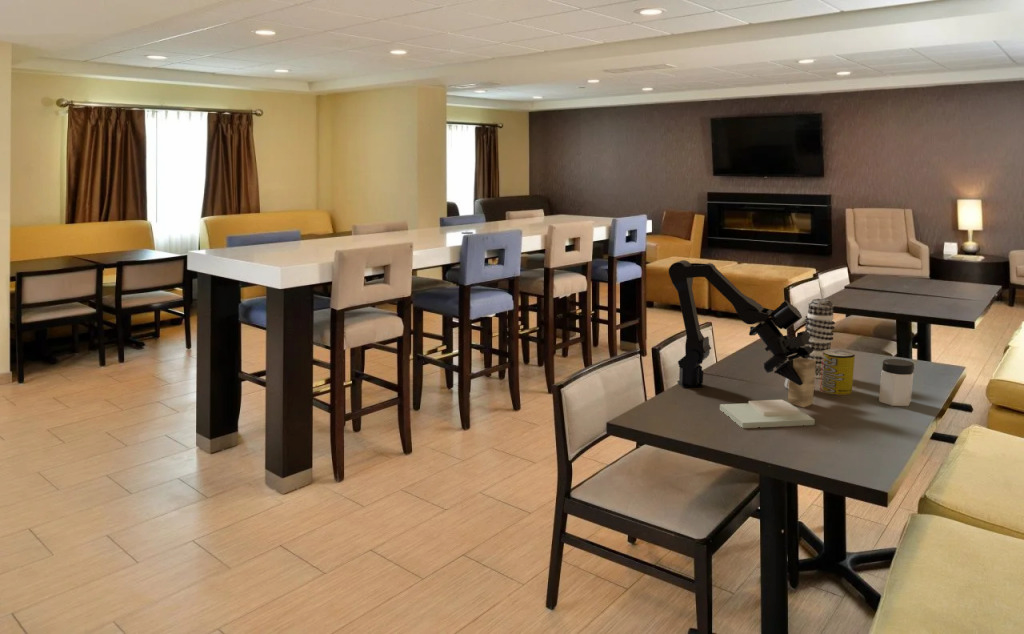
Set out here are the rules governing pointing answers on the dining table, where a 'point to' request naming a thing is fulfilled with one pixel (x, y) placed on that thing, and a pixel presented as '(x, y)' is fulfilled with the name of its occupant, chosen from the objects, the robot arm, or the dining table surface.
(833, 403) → the dining table surface
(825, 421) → the dining table surface
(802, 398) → the pillar block
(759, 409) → the board
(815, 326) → the decorative candle
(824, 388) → the beverage can
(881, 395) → the jar
